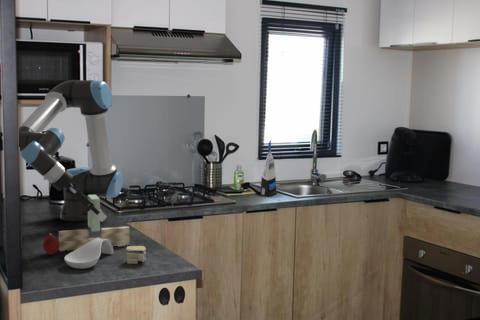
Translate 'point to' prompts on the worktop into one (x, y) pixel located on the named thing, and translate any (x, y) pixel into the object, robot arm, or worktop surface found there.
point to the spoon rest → (88, 254)
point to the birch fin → (80, 238)
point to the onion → (51, 244)
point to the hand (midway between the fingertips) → (102, 216)
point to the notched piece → (92, 219)
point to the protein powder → (268, 176)
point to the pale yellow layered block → (135, 254)
